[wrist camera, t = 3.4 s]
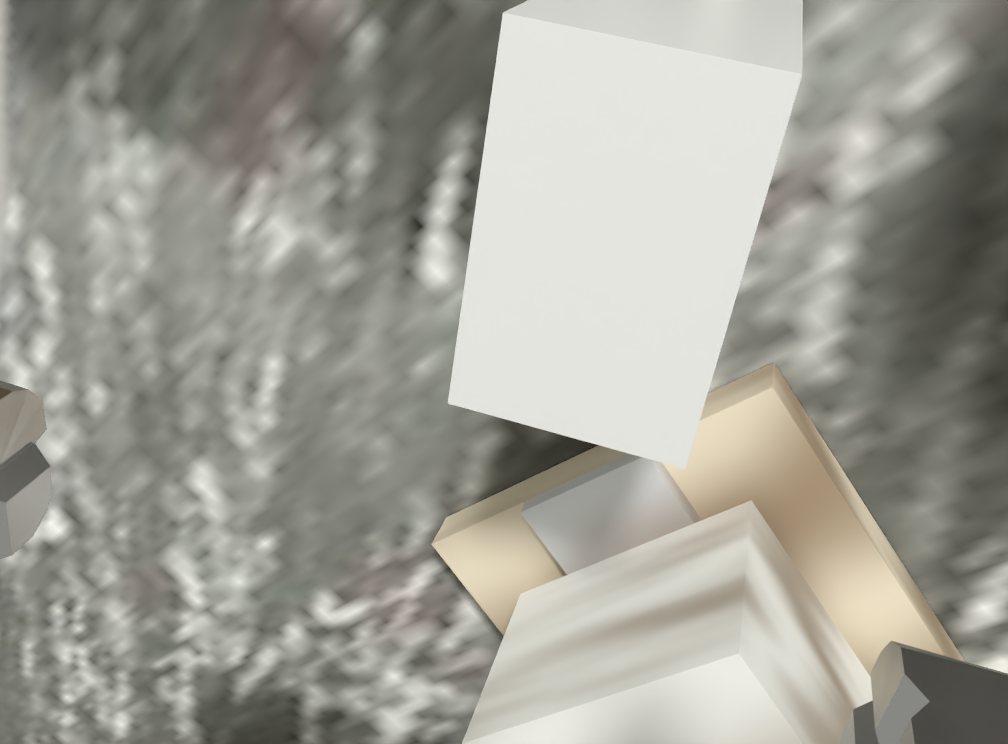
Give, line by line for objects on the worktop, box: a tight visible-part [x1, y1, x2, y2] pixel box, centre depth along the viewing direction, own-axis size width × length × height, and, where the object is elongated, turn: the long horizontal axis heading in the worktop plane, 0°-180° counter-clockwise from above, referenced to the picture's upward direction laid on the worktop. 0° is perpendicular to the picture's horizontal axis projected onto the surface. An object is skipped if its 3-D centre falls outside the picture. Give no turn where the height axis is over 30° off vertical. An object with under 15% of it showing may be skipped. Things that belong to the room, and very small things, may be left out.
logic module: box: [448, 0, 803, 469], centre depth 20 cm, size 5×7×10 cm, turn 171°
